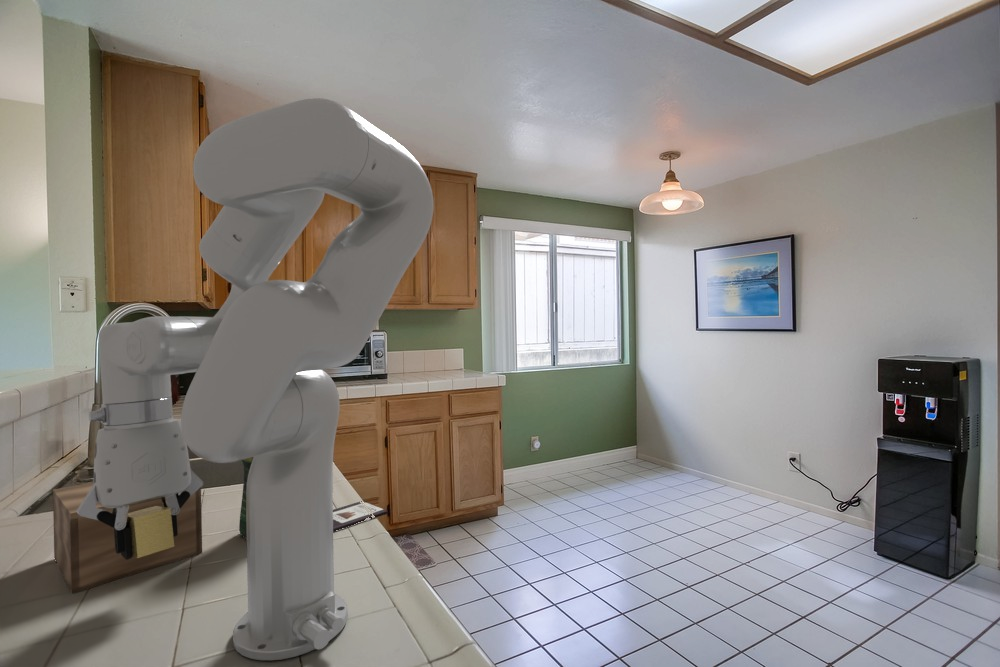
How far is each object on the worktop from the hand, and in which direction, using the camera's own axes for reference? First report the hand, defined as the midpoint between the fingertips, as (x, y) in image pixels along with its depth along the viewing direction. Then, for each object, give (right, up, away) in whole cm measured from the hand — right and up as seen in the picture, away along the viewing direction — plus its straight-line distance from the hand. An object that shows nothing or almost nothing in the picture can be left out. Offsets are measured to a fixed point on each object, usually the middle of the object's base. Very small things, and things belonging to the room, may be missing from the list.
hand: (147, 548), depth 66 cm
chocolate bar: (+16, -7, +26) cm, 31 cm away
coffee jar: (+7, -7, +22) cm, 23 cm away
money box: (-12, -7, +13) cm, 19 cm away
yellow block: (+1, 0, 0) cm, 1 cm away
